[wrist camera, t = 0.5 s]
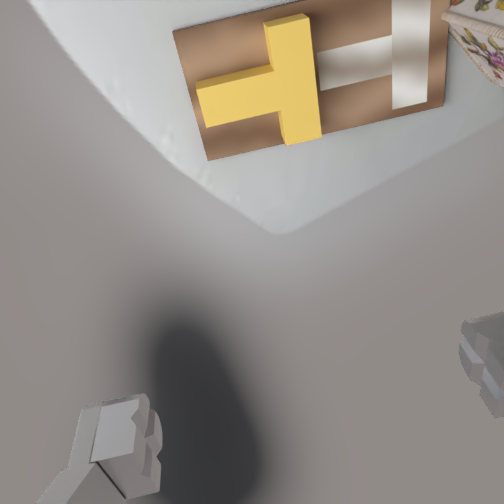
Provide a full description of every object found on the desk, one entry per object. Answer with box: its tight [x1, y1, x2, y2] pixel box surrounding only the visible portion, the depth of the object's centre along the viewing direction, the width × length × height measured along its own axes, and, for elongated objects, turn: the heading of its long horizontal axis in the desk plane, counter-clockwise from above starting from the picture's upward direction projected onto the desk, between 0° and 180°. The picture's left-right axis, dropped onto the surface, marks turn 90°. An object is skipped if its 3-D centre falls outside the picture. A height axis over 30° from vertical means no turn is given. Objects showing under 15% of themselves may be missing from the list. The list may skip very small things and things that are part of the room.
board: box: [172, 0, 450, 161], centre depth 48 cm, size 14×28×1 cm, turn 101°
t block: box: [196, 13, 322, 146], centre depth 47 cm, size 12×12×3 cm
